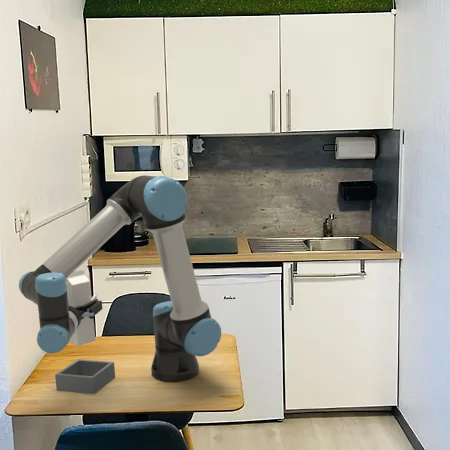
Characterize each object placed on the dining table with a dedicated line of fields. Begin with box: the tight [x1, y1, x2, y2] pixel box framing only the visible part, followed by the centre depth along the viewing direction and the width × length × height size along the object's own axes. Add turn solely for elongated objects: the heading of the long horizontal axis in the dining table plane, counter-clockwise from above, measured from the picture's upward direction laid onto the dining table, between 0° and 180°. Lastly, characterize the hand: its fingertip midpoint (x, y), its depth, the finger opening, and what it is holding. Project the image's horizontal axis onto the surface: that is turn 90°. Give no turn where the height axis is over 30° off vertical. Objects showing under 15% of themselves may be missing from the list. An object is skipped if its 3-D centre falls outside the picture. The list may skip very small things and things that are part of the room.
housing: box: [54, 358, 116, 395], centre depth 193 cm, size 13×13×5 cm
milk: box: [65, 269, 96, 347], centre depth 189 cm, size 6×6×22 cm
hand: (81, 299), depth 193 cm, fingers closed on milk, 8 cm apart
